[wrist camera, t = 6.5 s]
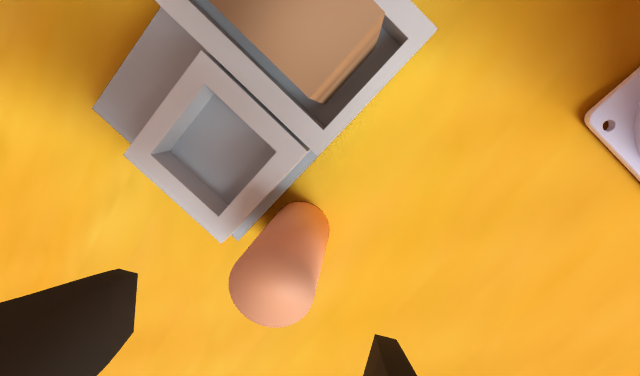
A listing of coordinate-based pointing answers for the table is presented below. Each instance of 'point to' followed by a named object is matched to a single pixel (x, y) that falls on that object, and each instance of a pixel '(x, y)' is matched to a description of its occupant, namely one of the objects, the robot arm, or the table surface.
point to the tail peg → (281, 267)
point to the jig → (235, 110)
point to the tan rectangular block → (309, 37)
